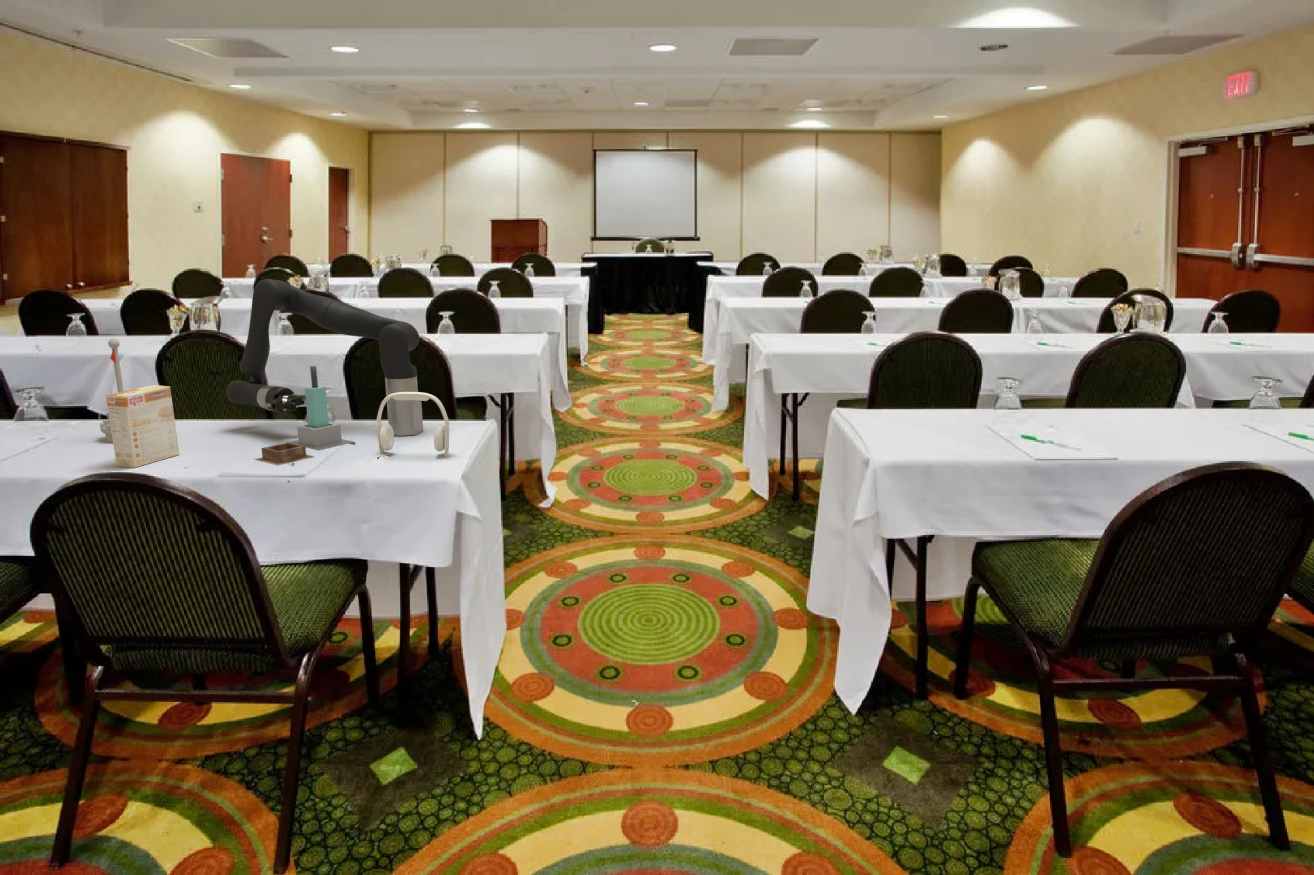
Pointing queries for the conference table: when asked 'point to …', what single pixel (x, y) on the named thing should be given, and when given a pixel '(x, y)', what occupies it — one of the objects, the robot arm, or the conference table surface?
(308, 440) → the box
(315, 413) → the plug
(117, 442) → the coffeecake box
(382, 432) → the headset
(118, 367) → the flag stand
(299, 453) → the brown open square box
